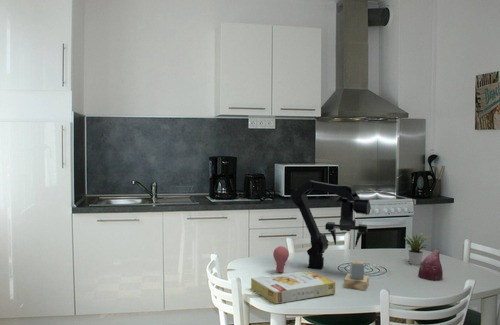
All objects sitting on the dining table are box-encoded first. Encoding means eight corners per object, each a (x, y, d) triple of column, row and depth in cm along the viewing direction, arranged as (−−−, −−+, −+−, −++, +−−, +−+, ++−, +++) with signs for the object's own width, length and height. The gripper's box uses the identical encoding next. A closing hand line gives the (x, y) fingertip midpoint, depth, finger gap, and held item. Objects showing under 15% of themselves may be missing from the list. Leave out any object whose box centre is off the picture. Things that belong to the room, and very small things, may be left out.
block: (343, 288, 202) (344, 279, 202) (347, 282, 210) (347, 273, 210) (366, 291, 199) (366, 281, 198) (368, 285, 207) (368, 276, 207)
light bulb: (290, 271, 223) (291, 245, 223) (284, 275, 217) (285, 249, 216) (276, 269, 226) (276, 243, 226) (270, 273, 220) (271, 247, 219)
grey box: (351, 279, 202) (351, 263, 202) (350, 275, 207) (350, 260, 207) (363, 279, 201) (364, 264, 201) (362, 276, 206) (362, 260, 206)
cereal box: (336, 281, 192) (275, 290, 179) (336, 295, 192) (275, 305, 179) (307, 269, 210) (249, 276, 197) (306, 282, 210) (249, 290, 197)
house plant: (429, 260, 250) (431, 229, 249) (435, 268, 236) (436, 235, 235) (401, 258, 253) (402, 227, 252) (404, 265, 239) (406, 233, 238)
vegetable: (439, 282, 223) (450, 252, 223) (441, 286, 214) (451, 254, 213) (416, 274, 227) (427, 244, 227) (417, 277, 217) (427, 245, 217)
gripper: (324, 213, 218) (323, 247, 219) (367, 216, 213) (365, 251, 214) (327, 209, 228) (326, 242, 229) (367, 212, 223) (366, 246, 224)
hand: (345, 245), depth 224 cm, fingers open, 9 cm apart
